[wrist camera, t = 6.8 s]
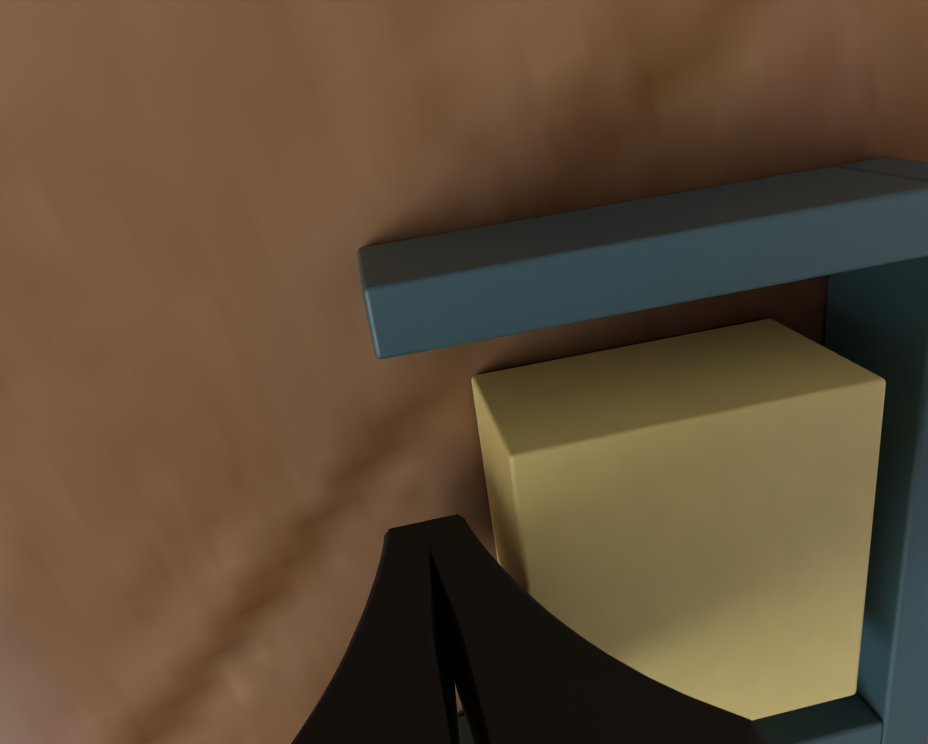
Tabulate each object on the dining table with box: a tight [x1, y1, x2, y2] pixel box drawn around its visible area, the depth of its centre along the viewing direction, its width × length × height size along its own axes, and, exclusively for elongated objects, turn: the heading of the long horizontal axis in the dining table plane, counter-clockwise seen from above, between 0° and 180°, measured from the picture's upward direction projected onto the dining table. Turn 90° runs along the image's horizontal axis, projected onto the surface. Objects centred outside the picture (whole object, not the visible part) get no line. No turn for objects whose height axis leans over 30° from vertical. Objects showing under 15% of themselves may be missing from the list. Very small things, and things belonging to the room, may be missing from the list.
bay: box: [357, 157, 928, 744], centre depth 13 cm, size 9×11×2 cm
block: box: [471, 319, 886, 721], centre depth 12 cm, size 6×6×3 cm
